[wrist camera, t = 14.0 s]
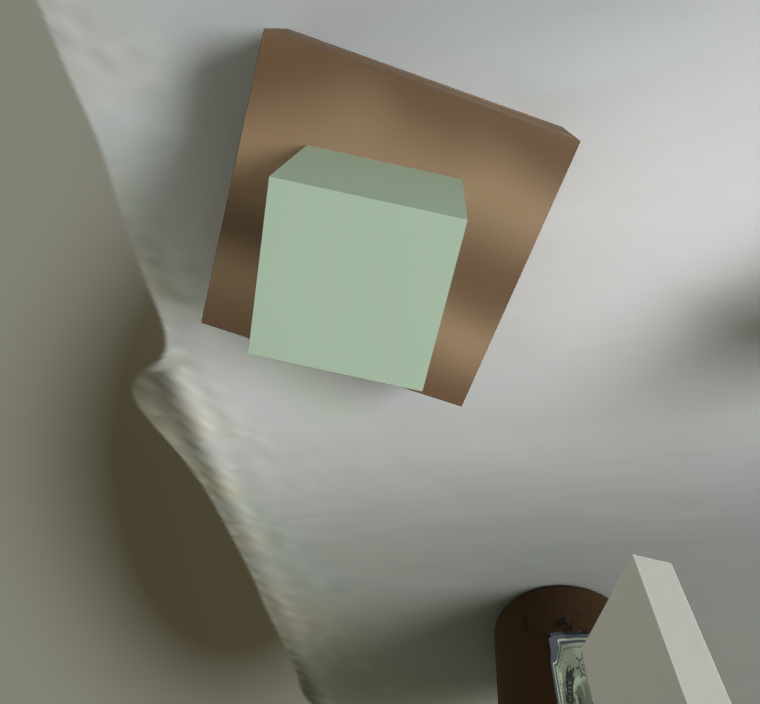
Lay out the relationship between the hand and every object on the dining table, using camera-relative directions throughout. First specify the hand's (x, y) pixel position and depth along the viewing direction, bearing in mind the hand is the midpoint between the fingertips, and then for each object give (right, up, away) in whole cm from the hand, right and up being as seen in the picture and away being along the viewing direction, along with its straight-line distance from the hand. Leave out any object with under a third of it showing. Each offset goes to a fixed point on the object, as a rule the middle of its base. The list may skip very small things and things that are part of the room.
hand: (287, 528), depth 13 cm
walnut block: (+2, +11, +22) cm, 25 cm away
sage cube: (+1, +9, +18) cm, 20 cm away
